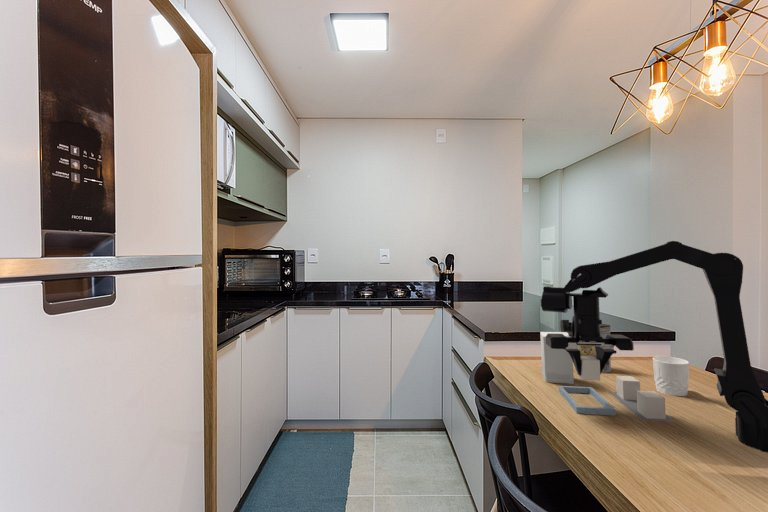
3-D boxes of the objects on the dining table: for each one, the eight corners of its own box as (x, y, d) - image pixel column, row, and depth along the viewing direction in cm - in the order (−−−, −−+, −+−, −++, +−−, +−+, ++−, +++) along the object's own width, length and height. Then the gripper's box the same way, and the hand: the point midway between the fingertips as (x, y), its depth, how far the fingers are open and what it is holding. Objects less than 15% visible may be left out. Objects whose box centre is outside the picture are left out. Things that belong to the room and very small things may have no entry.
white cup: (697, 402, 92) (696, 364, 92) (663, 400, 94) (662, 363, 94) (678, 391, 100) (677, 356, 100) (647, 389, 101) (646, 355, 102)
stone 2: (640, 400, 91) (639, 381, 91) (623, 399, 92) (622, 380, 92) (632, 394, 95) (632, 376, 95) (616, 393, 96) (615, 375, 96)
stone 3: (665, 419, 80) (665, 397, 80) (646, 418, 81) (645, 396, 81) (655, 411, 84) (655, 391, 84) (637, 410, 85) (636, 390, 85)
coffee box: (574, 367, 123) (573, 322, 124) (586, 364, 126) (585, 320, 126) (600, 374, 115) (598, 326, 115) (612, 371, 118) (610, 324, 118)
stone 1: (600, 380, 86) (599, 360, 86) (582, 380, 87) (582, 360, 87) (593, 375, 90) (593, 356, 90) (577, 374, 91) (576, 355, 91)
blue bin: (615, 420, 83) (615, 409, 83) (576, 417, 85) (576, 407, 85) (591, 396, 97) (591, 387, 97) (558, 394, 99) (558, 385, 99)
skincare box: (569, 380, 110) (568, 331, 110) (575, 388, 104) (573, 336, 104) (541, 378, 112) (539, 330, 113) (544, 386, 106) (543, 335, 106)
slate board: (676, 427, 79) (675, 421, 79) (641, 424, 80) (641, 419, 80) (637, 397, 96) (636, 393, 96) (609, 396, 97) (608, 392, 97)
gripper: (612, 309, 94) (614, 367, 94) (539, 309, 98) (541, 364, 98) (633, 316, 84) (635, 381, 83) (550, 315, 87) (552, 378, 87)
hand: (588, 375), depth 88 cm, fingers closed on stone 1, 4 cm apart
